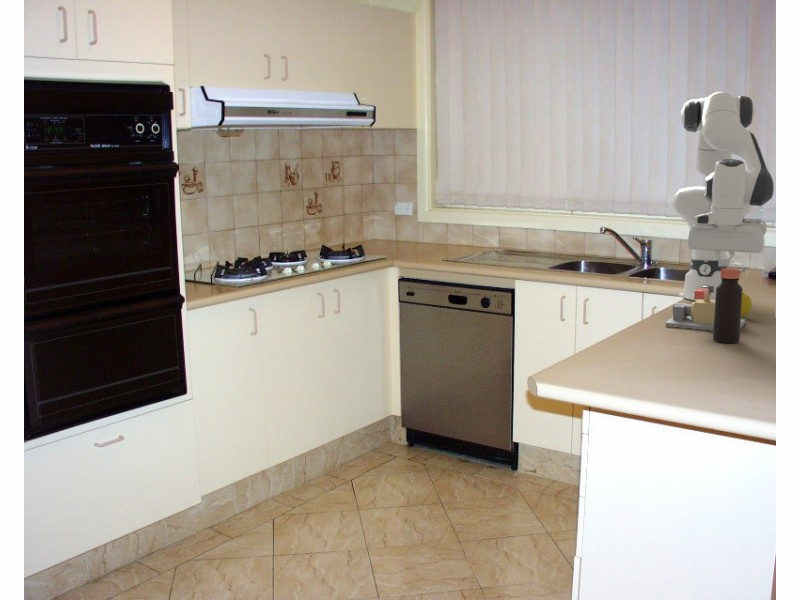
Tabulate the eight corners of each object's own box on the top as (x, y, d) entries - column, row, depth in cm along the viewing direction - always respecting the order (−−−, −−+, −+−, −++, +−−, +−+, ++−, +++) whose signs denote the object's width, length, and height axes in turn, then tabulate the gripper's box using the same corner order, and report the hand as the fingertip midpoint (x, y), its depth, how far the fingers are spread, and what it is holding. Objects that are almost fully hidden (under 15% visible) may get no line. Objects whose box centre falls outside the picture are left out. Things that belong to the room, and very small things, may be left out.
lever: (692, 298, 241) (692, 290, 240) (702, 291, 253) (702, 283, 252) (705, 300, 239) (705, 291, 238) (714, 292, 251) (715, 284, 251)
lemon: (753, 319, 259) (755, 294, 258) (735, 319, 259) (737, 294, 258) (746, 315, 265) (747, 290, 263) (728, 316, 265) (730, 291, 263)
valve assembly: (665, 326, 250) (667, 294, 249) (677, 316, 264) (679, 285, 262) (736, 333, 240) (738, 299, 239) (745, 323, 254) (747, 291, 252)
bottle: (716, 343, 229) (720, 271, 225) (710, 337, 235) (714, 267, 232) (742, 344, 228) (746, 271, 224) (735, 338, 234) (740, 267, 231)
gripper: (768, 218, 232) (765, 267, 235) (692, 216, 242) (689, 263, 245) (765, 220, 227) (762, 270, 229) (687, 217, 237) (685, 265, 239)
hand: (724, 266), depth 237 cm, fingers closed
